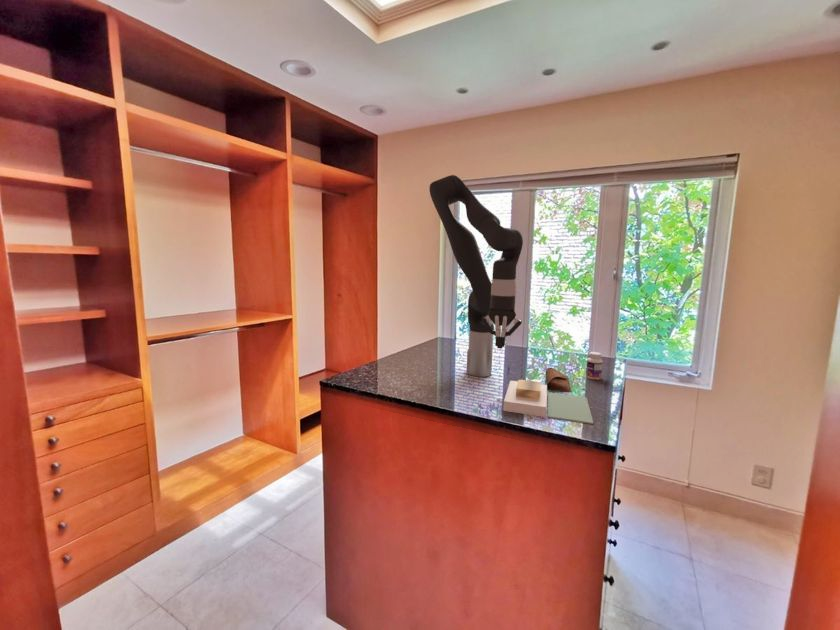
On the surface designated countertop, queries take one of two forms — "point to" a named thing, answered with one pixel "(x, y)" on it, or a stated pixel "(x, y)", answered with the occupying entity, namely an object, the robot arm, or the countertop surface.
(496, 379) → the countertop surface
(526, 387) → the birch tile
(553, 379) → the sunglasses case
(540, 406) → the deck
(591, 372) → the pill bottle
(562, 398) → the mat
